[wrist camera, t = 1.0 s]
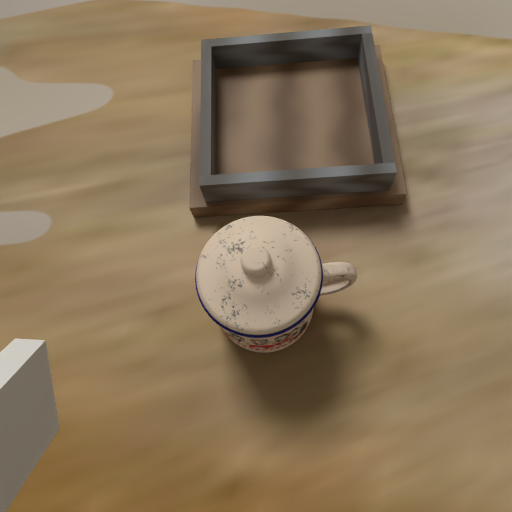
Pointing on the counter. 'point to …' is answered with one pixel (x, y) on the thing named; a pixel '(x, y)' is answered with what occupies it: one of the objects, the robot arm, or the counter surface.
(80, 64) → the counter surface
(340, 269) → the teacup with lid
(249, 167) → the collar stand
